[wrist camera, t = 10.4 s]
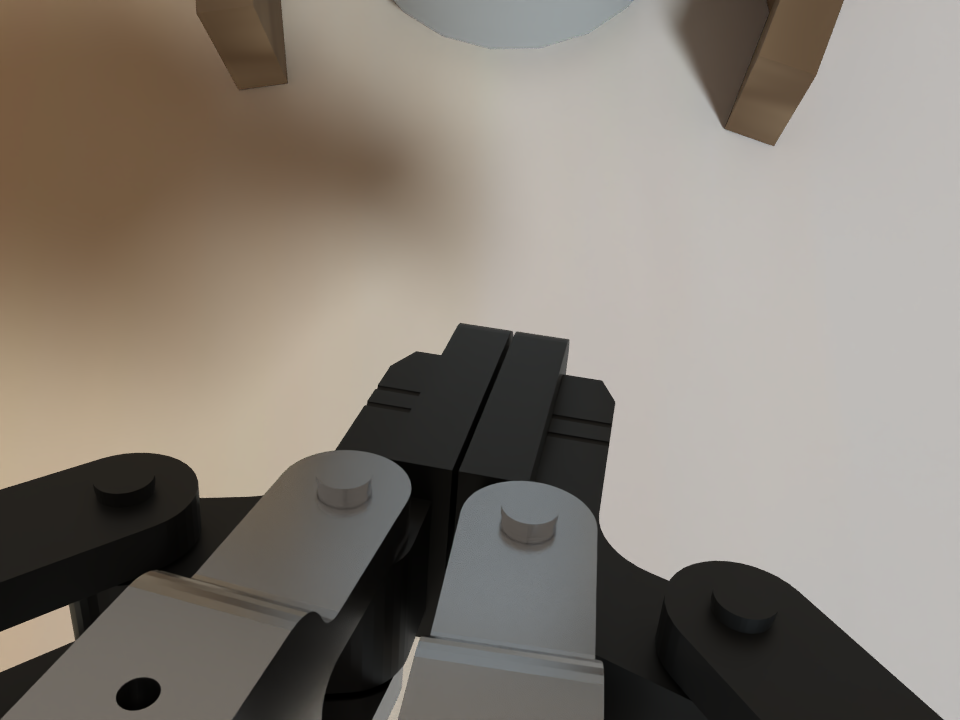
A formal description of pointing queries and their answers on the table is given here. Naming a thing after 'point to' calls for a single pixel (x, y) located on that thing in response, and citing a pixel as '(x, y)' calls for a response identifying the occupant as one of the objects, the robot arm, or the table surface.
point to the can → (512, 19)
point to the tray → (756, 114)
